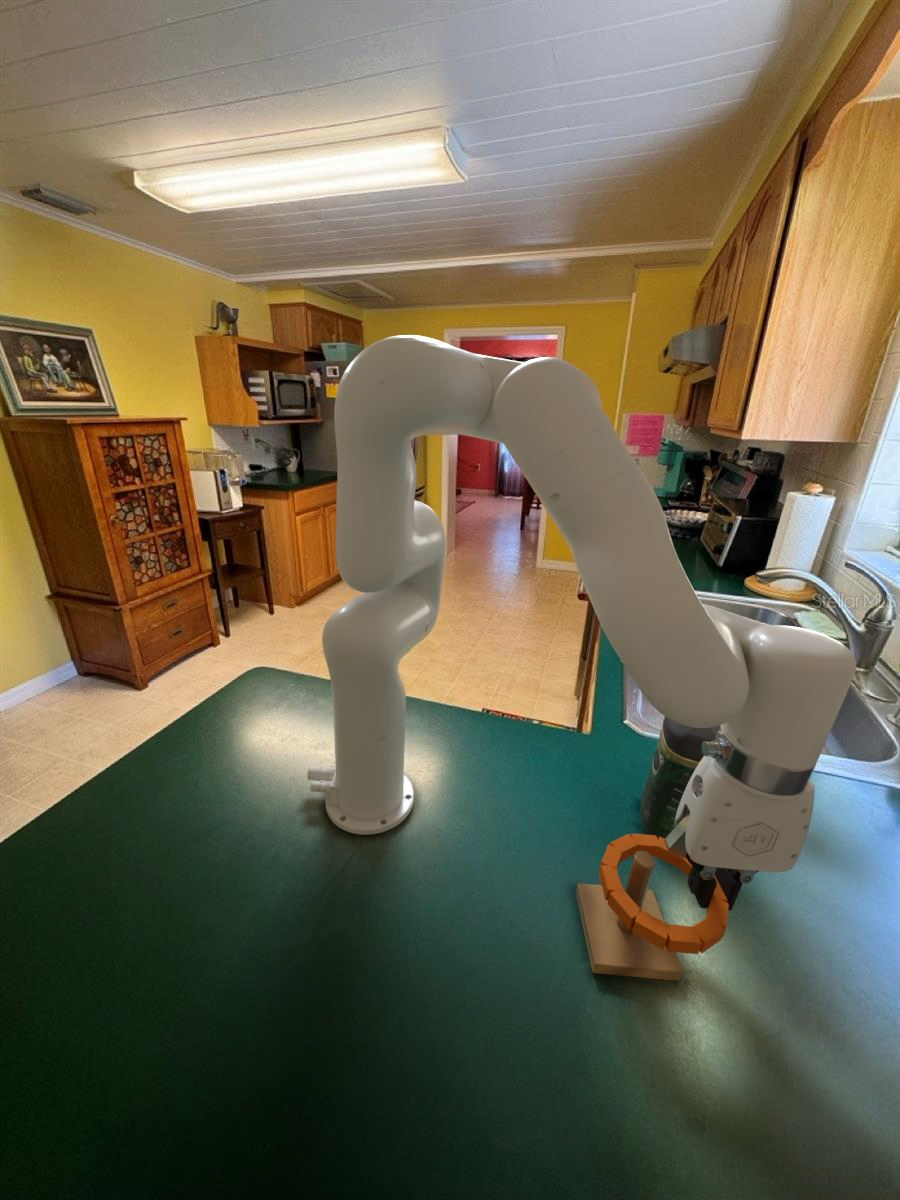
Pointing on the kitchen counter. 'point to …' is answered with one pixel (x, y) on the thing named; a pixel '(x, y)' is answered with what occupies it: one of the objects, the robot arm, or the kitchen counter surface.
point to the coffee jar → (671, 774)
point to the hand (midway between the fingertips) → (709, 895)
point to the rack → (625, 929)
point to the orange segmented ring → (646, 924)
